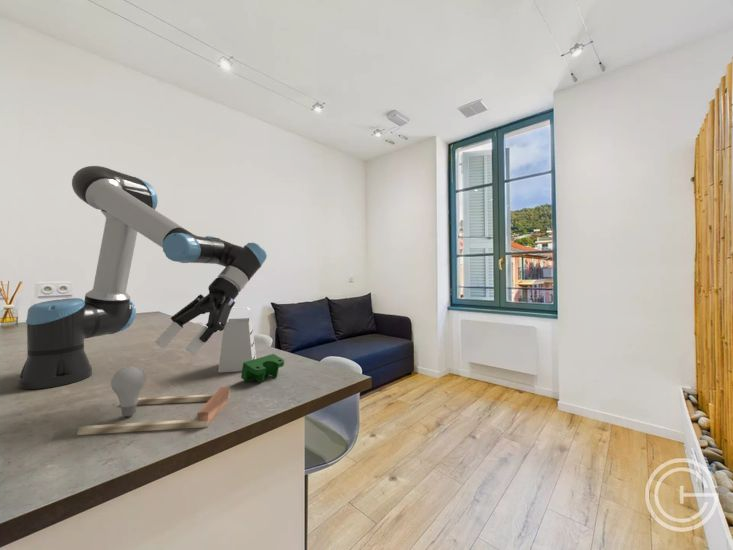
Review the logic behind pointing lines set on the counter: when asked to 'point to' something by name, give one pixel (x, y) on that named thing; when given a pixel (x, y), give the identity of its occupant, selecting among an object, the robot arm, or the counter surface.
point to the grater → (237, 344)
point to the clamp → (261, 368)
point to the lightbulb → (128, 387)
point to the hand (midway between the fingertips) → (173, 348)
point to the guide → (203, 420)
